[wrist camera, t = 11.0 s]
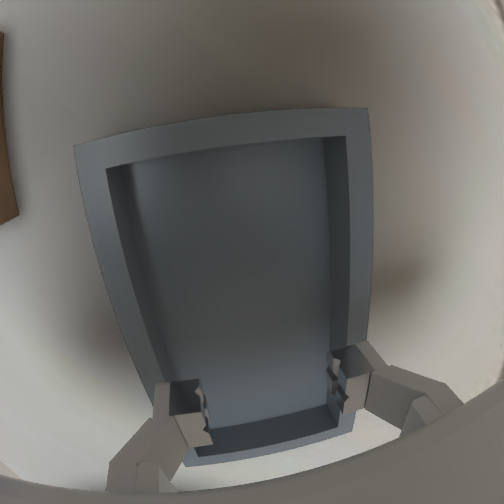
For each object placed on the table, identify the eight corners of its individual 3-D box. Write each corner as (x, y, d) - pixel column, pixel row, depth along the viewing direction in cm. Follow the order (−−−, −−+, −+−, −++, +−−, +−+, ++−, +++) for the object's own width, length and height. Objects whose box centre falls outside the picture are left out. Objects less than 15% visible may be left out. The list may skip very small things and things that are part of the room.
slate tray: (95, 144, 11) (73, 146, 8) (338, 112, 12) (367, 108, 10) (184, 435, 17) (185, 466, 15) (337, 404, 18) (352, 431, 16)
